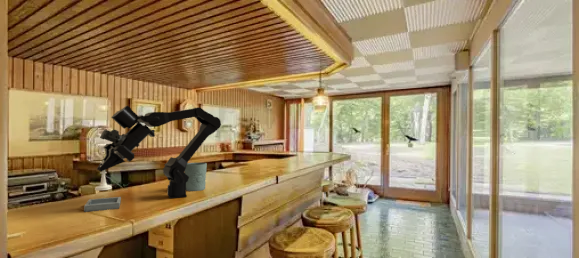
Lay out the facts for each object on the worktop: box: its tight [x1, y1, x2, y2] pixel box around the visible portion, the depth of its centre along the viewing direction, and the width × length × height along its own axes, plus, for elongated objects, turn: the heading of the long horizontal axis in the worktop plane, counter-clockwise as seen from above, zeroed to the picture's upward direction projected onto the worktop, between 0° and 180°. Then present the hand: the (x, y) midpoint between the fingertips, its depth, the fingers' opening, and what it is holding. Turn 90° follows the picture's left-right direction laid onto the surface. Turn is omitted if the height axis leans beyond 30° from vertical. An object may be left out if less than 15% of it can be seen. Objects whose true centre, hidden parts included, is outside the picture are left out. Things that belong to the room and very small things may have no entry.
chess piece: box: [94, 159, 113, 191], centre depth 98 cm, size 5×5×10 cm
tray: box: [83, 196, 122, 213], centre depth 99 cm, size 10×10×2 cm
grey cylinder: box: [184, 162, 208, 192], centre depth 132 cm, size 10×10×12 cm
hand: (98, 170), depth 97 cm, fingers closed on chess piece
